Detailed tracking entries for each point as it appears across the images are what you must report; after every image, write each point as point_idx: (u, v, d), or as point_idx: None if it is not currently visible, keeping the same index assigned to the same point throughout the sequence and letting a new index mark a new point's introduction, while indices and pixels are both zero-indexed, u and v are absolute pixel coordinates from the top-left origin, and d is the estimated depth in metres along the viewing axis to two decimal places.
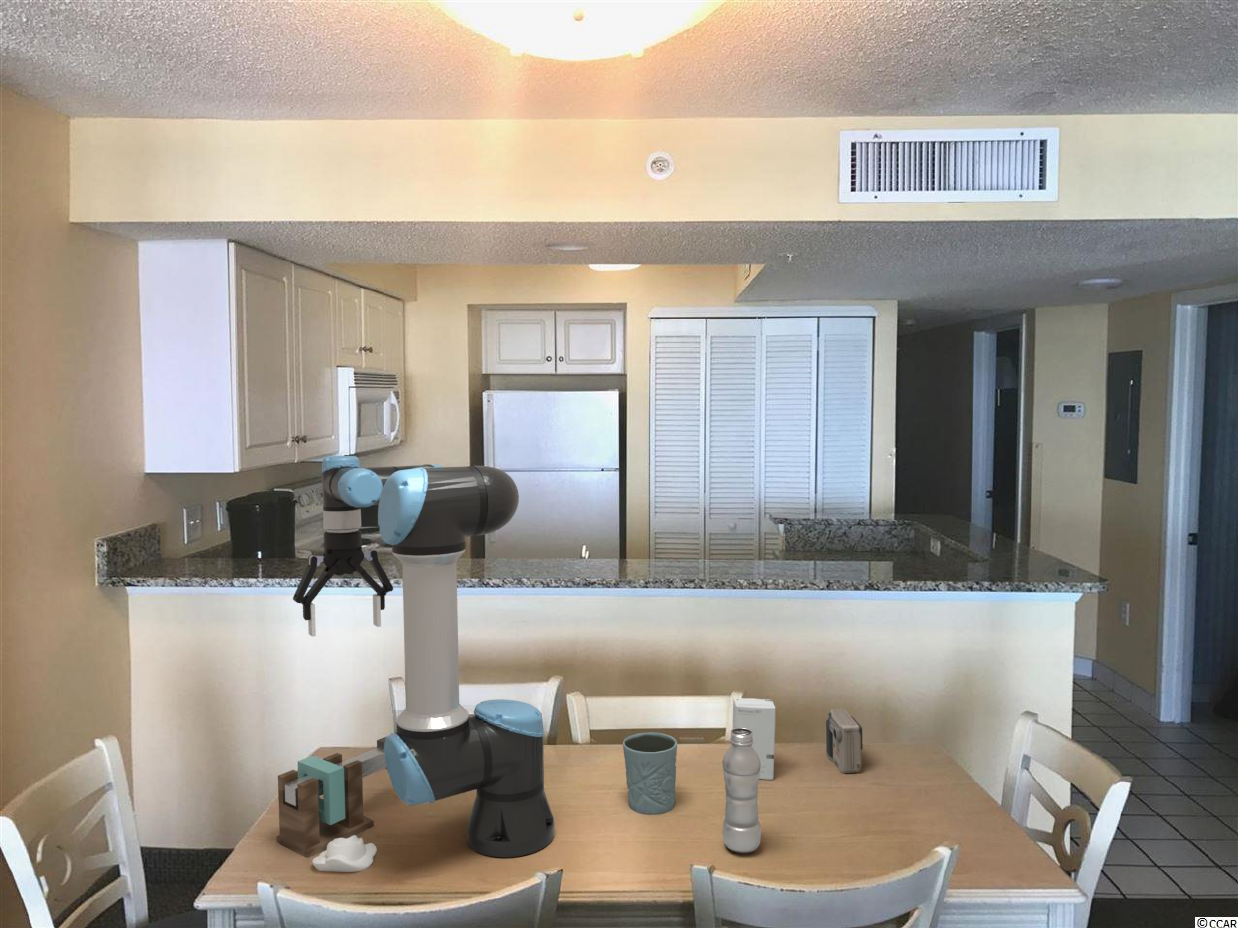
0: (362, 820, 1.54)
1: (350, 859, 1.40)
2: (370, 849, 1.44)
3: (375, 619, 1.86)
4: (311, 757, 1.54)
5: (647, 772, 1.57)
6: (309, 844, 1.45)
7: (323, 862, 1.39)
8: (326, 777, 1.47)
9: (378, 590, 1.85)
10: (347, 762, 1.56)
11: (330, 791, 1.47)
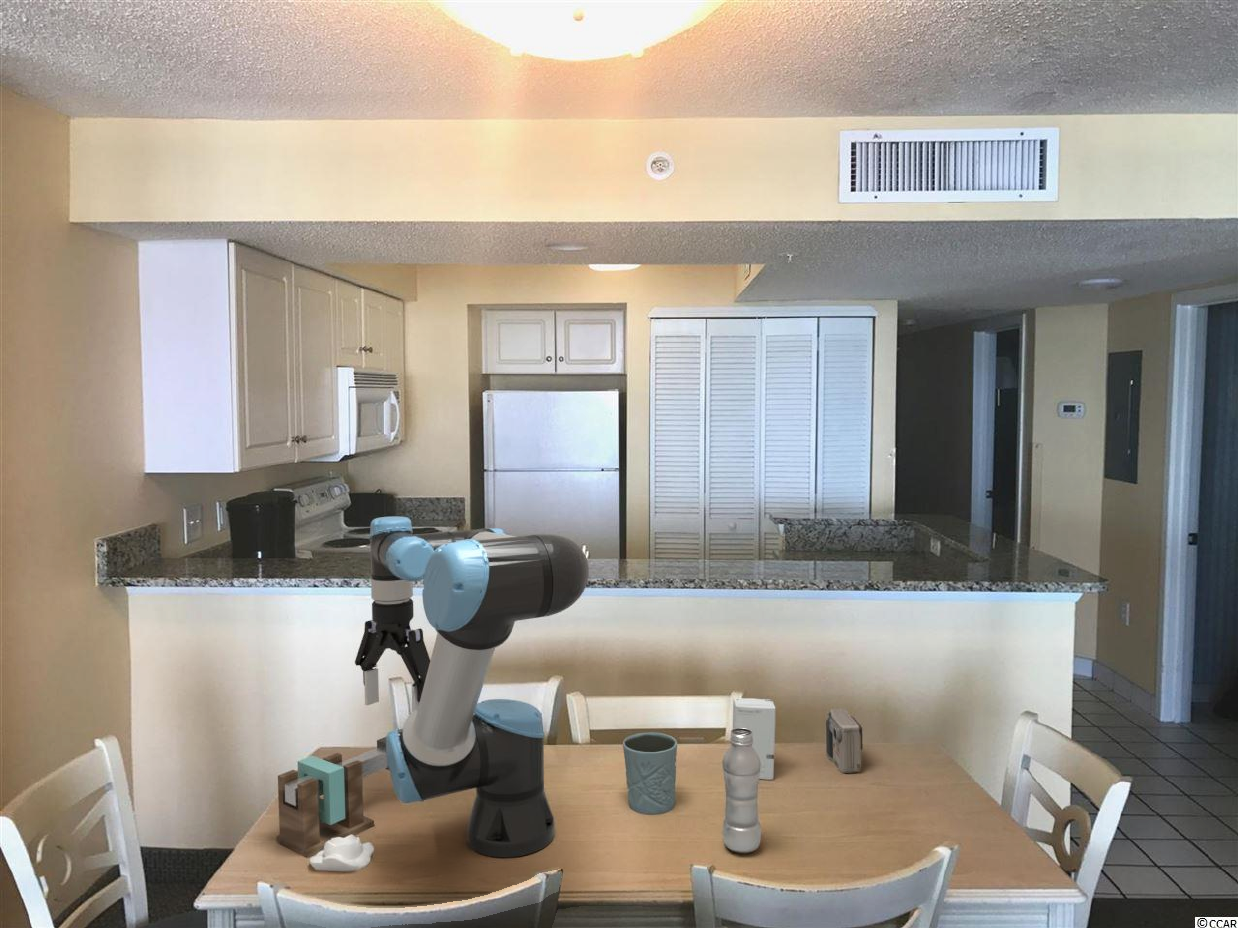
0: (362, 820, 1.54)
1: (347, 858, 1.41)
2: (367, 848, 1.44)
3: None
4: (311, 757, 1.54)
5: (647, 772, 1.57)
6: (309, 844, 1.45)
7: (320, 861, 1.39)
8: (326, 777, 1.47)
9: (413, 678, 1.58)
10: (347, 762, 1.56)
11: (330, 791, 1.47)
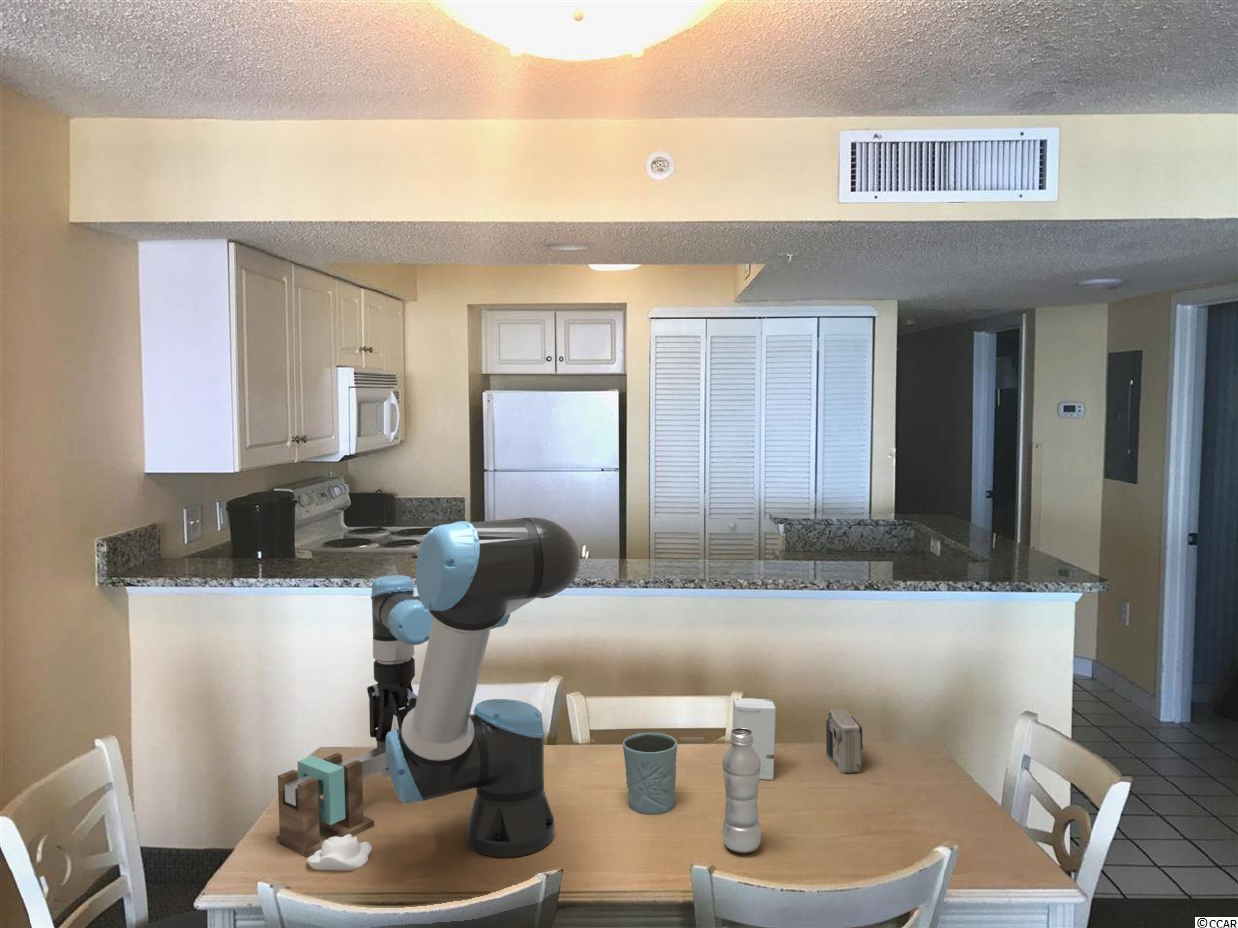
0: (362, 820, 1.54)
1: (345, 858, 1.41)
2: (364, 847, 1.44)
3: None
4: (311, 757, 1.54)
5: (647, 772, 1.57)
6: (309, 844, 1.45)
7: (318, 861, 1.39)
8: (326, 777, 1.47)
9: None
10: (347, 762, 1.56)
11: (330, 791, 1.47)
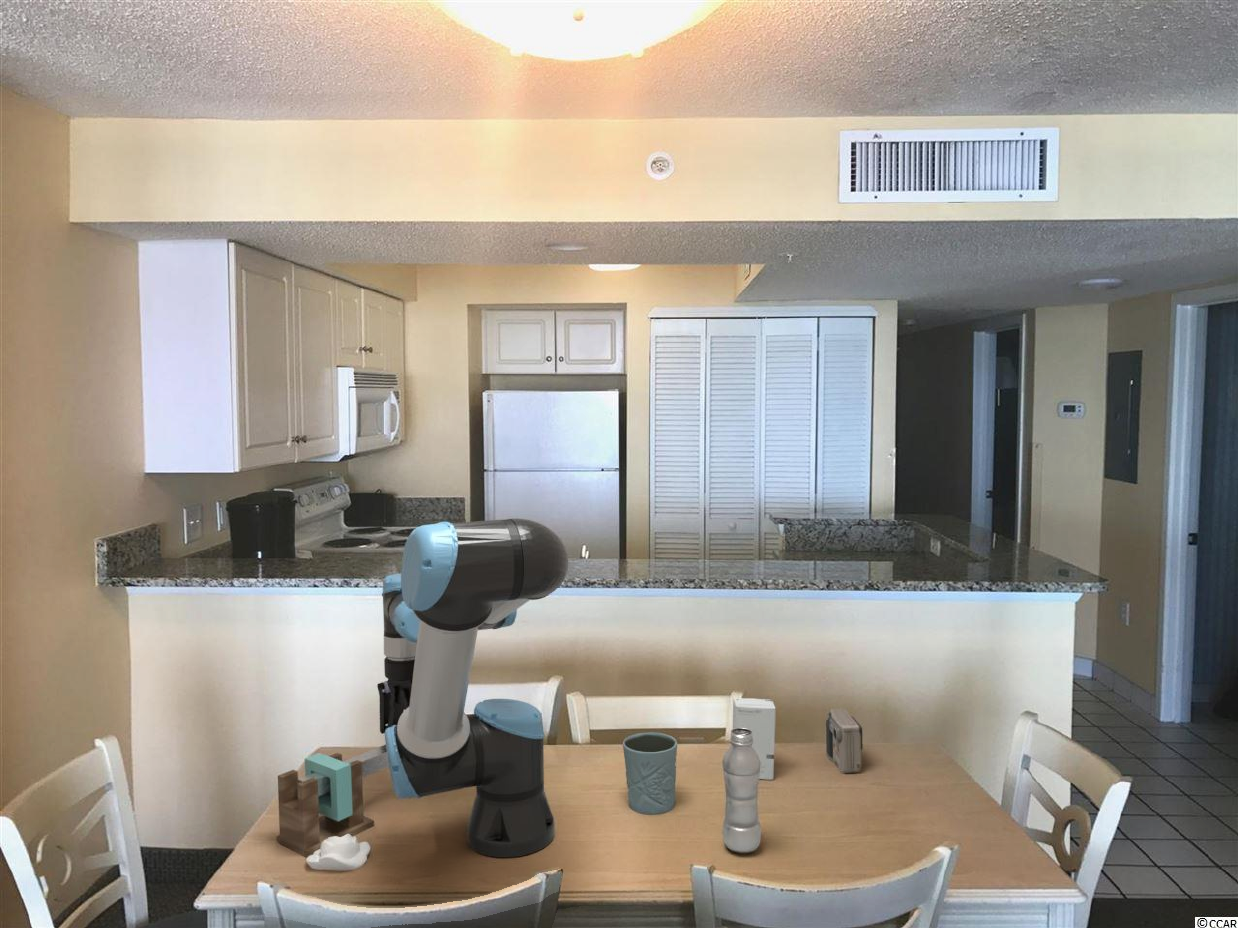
0: (362, 820, 1.54)
1: (344, 857, 1.41)
2: (364, 847, 1.44)
3: None
4: (318, 754, 1.55)
5: (647, 772, 1.57)
6: (309, 844, 1.45)
7: (317, 860, 1.39)
8: (333, 774, 1.48)
9: None
10: (358, 758, 1.58)
11: (337, 788, 1.48)
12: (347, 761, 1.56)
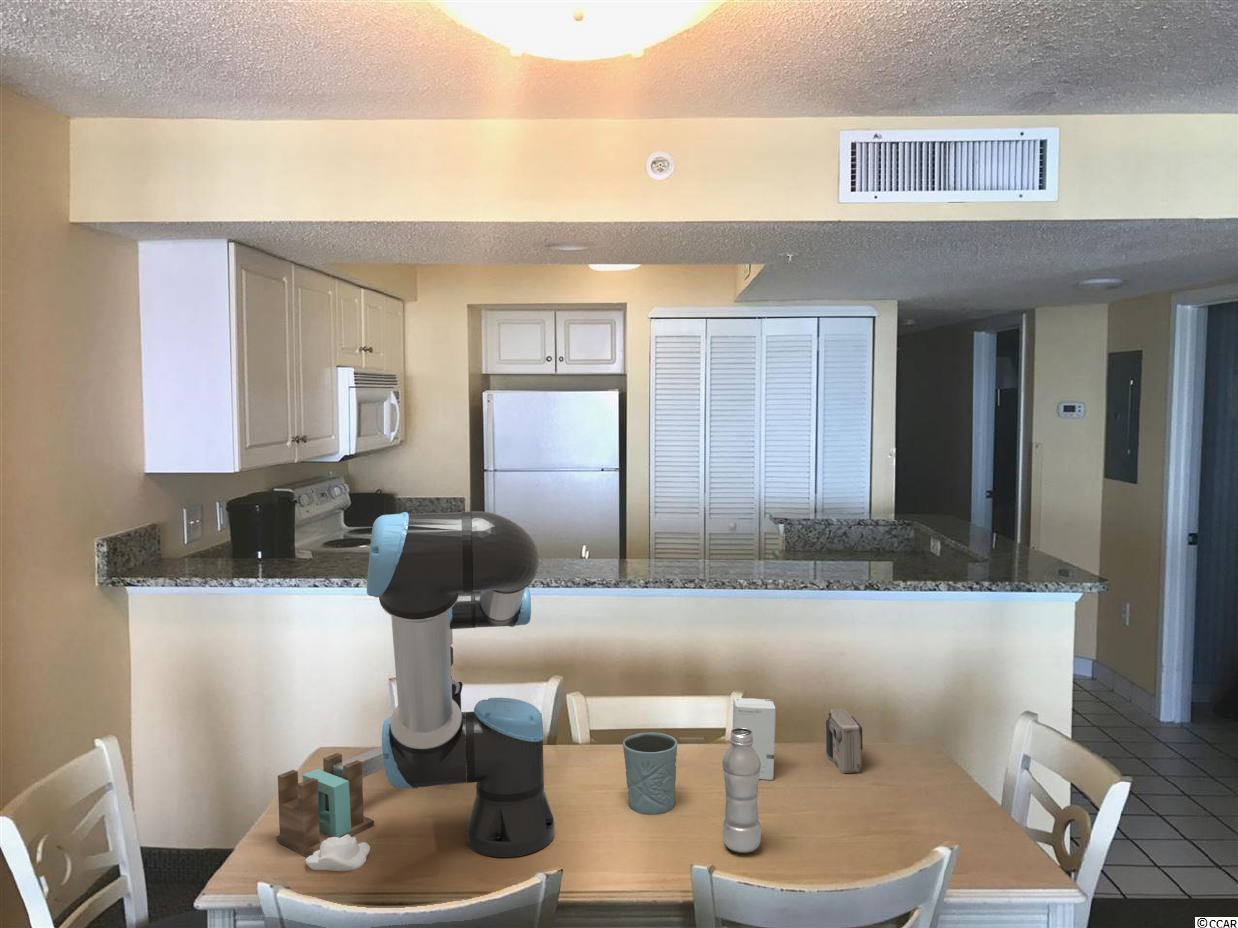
0: (362, 820, 1.54)
1: (343, 858, 1.41)
2: (363, 848, 1.44)
3: None
4: (316, 770, 1.54)
5: (647, 772, 1.57)
6: (309, 844, 1.45)
7: (316, 861, 1.39)
8: (331, 791, 1.48)
9: None
10: None
11: (335, 805, 1.48)
12: (379, 748, 1.62)
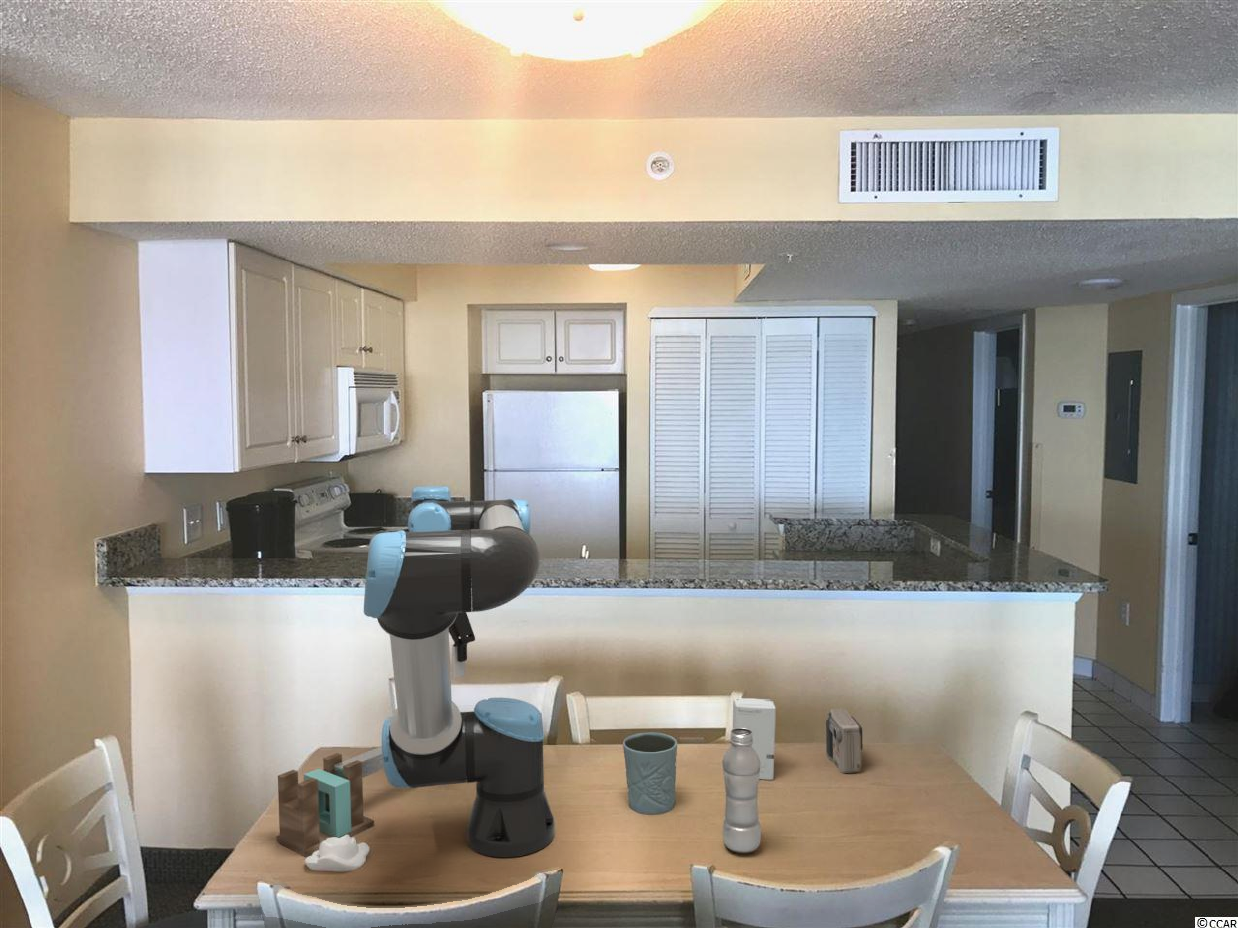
0: (362, 820, 1.54)
1: (342, 858, 1.41)
2: (362, 848, 1.44)
3: None
4: (317, 770, 1.55)
5: (647, 772, 1.57)
6: (309, 844, 1.45)
7: (315, 861, 1.39)
8: (332, 790, 1.48)
9: (453, 638, 1.66)
10: None
11: (336, 804, 1.48)
12: (380, 748, 1.62)
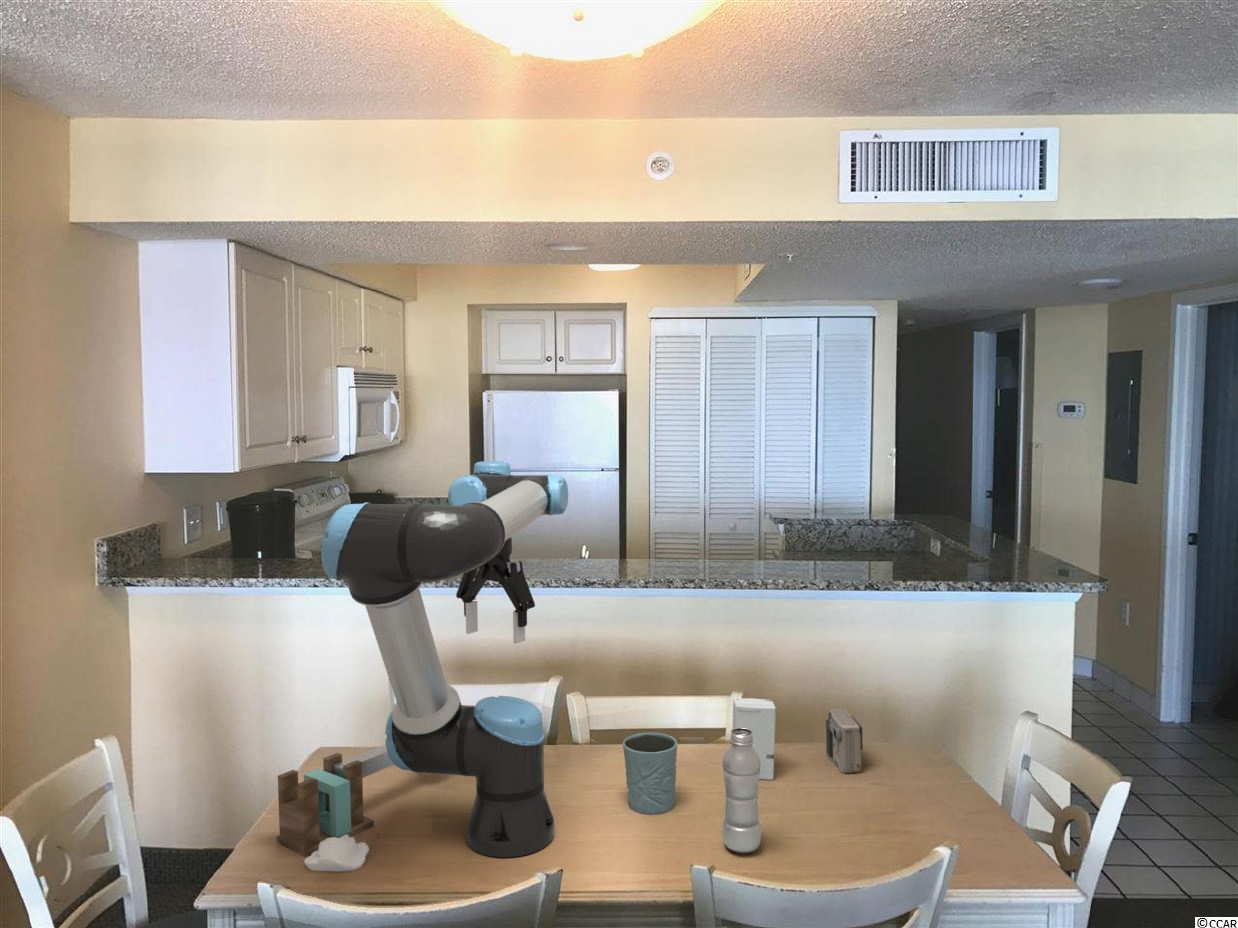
0: (362, 820, 1.54)
1: (342, 858, 1.40)
2: (362, 848, 1.44)
3: None
4: (317, 770, 1.55)
5: (647, 772, 1.57)
6: (309, 844, 1.45)
7: (315, 861, 1.39)
8: (332, 790, 1.48)
9: (514, 605, 1.75)
10: None
11: (336, 804, 1.48)
12: (380, 748, 1.62)
